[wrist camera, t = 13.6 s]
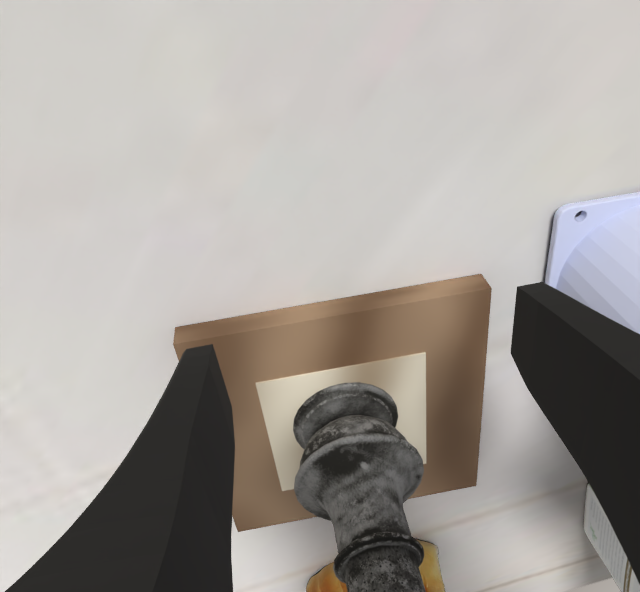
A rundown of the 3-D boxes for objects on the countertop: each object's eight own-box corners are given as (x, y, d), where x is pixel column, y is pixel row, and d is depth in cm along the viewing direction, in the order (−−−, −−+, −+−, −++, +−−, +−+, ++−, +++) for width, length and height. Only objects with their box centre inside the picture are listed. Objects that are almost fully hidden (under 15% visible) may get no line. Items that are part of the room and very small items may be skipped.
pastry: (318, 607, 40) (325, 665, 37) (293, 560, 37) (299, 619, 34) (442, 573, 40) (460, 628, 37) (430, 522, 36) (449, 578, 33)
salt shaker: (366, 470, 30) (435, 739, 20) (267, 447, 28) (289, 734, 18) (425, 395, 27) (537, 662, 18) (320, 363, 25) (381, 646, 15)
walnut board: (481, 274, 25) (492, 289, 24) (468, 468, 33) (476, 487, 32) (175, 327, 25) (173, 345, 24) (237, 513, 33) (238, 533, 32)
